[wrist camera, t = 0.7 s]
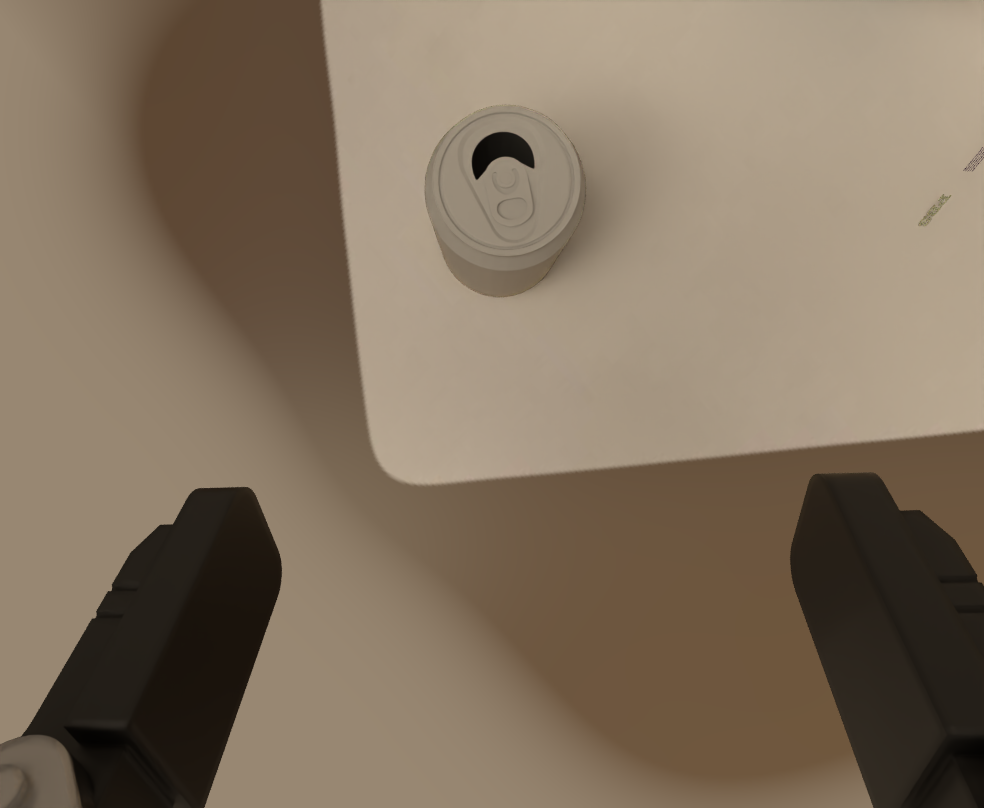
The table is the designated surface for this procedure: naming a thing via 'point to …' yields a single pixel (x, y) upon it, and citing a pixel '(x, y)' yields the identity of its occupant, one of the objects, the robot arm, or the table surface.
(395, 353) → the table surface
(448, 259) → the beverage can
